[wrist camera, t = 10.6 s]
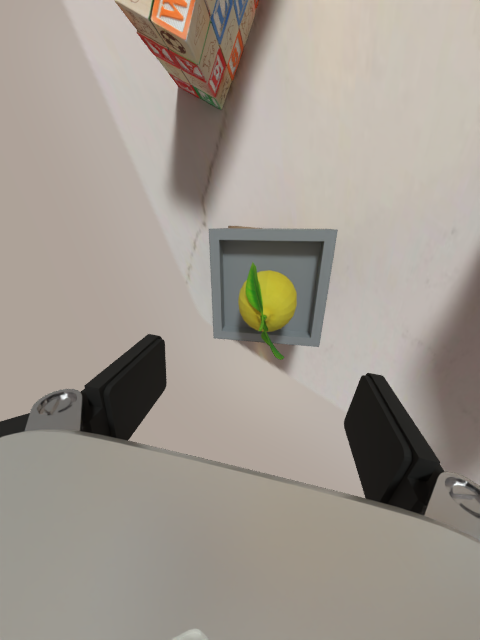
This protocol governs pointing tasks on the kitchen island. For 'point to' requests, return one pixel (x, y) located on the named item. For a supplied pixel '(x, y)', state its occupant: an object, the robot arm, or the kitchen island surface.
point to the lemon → (267, 302)
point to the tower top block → (280, 256)
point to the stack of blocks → (195, 40)
